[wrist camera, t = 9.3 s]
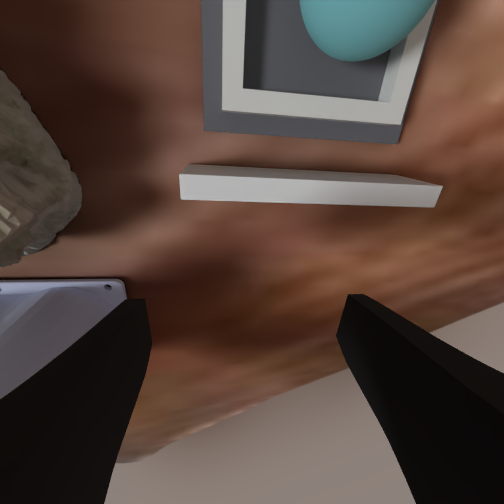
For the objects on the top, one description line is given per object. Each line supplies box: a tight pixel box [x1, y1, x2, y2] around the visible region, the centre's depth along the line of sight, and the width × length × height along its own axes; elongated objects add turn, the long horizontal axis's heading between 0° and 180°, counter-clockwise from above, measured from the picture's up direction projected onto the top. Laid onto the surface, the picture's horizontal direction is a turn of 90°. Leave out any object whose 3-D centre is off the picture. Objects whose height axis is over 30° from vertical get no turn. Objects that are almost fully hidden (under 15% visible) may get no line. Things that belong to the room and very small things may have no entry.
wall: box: [179, 164, 443, 208], centre depth 14 cm, size 14×1×4 cm, turn 86°
